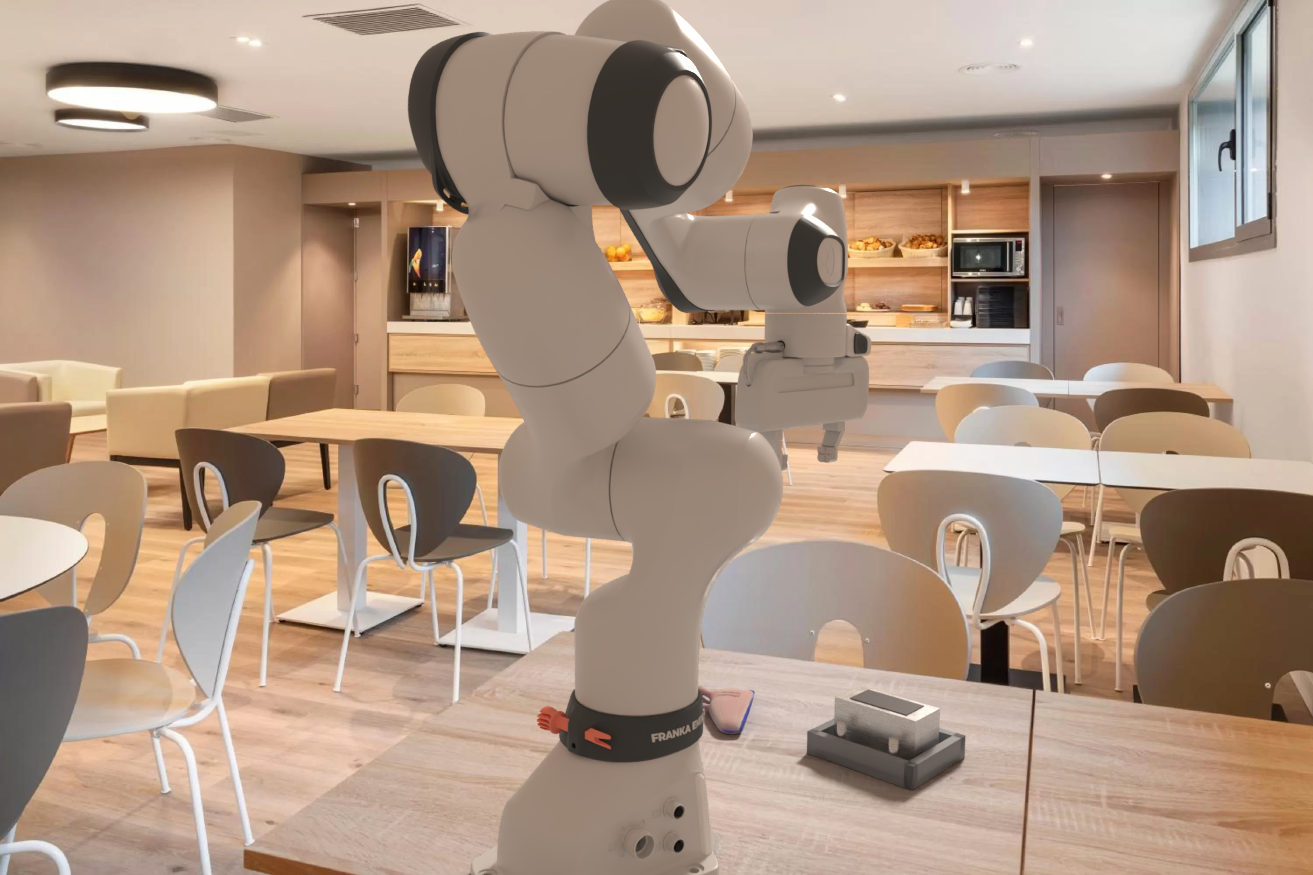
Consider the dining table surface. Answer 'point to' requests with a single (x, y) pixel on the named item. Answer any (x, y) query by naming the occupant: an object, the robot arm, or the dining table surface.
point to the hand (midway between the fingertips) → (802, 466)
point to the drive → (887, 721)
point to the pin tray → (885, 755)
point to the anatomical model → (728, 707)
